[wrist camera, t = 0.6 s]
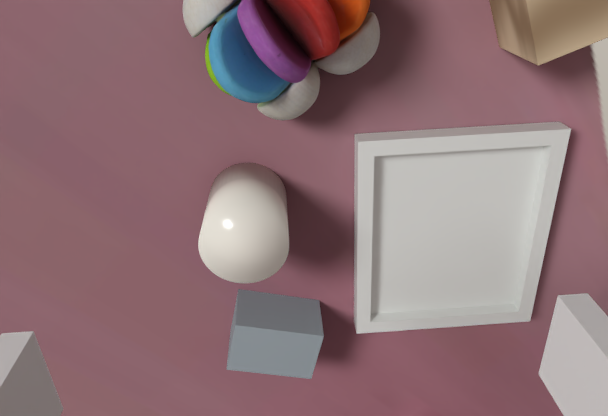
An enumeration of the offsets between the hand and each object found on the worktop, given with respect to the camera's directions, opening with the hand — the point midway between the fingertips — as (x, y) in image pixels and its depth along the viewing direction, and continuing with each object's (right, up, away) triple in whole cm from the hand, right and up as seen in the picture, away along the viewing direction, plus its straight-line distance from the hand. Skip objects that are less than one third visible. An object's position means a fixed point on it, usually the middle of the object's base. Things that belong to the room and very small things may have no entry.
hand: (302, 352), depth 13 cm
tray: (+10, +2, +22) cm, 25 cm away
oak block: (+13, +16, +15) cm, 26 cm away
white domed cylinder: (-4, +4, +20) cm, 21 cm away
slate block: (-2, -4, +25) cm, 26 cm away
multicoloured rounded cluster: (-1, +14, +16) cm, 21 cm away
